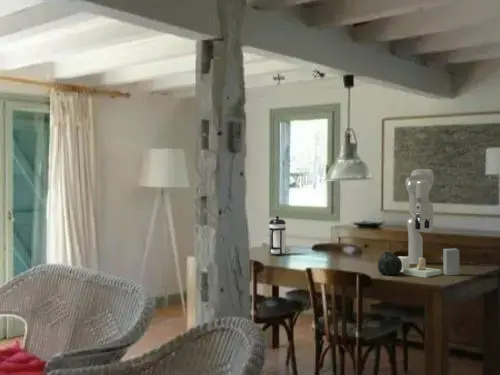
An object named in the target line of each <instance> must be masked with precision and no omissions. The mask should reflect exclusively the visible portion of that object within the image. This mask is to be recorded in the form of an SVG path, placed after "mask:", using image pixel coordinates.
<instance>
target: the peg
mask: <svg viewBox="0 0 500 375" xmlns="http://www.w3.org/2000/svg"><path fill="white" fill-rule="evenodd" d="M426 259H427V258H426V257H423V258H419V264H418V265H419V270H423V271H424V270H425V268H427V267H426V265H427V264H426Z"/></svg>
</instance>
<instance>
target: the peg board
mask: <svg viewBox="0 0 500 375" xmlns="http://www.w3.org/2000/svg"><path fill="white" fill-rule="evenodd" d="M404 274H405V275H406V276H411V275H412V276H413V277H419V278H429V277H435V276H439V275H441V274H442V269H439V268H430V267H426V268H425V270H424V271H423V270H419V267H417V266H415V267H411V268H410V269H404V272H403V275H404Z"/></svg>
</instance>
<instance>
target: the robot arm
mask: <svg viewBox="0 0 500 375" xmlns="http://www.w3.org/2000/svg"><path fill="white" fill-rule="evenodd" d="M434 180H435V176H434V172H433V170H432V169H430V168H426V169H425V168H417V169H413V170H412V171H411V173H410V177H407V178H406V179H405V188H406V191H407V192H408V207H409V208H408V211H409V214H410V215H411V216H413V217H410V218H408V219H407V220H406V226H407V235H408V237H407V239H408V245H407V246H408V248H407V250H408V251H407V252H408V255H407V256H406V255H405V256H404V257H410V265H419V258H424V257H423V255H424V253H423V250H424V249H423V247H424V246H423V240H424V239H423V236H422V234H420V232H422V233H423V232H426V233H427V232H429V233H430V232H432V231H433V230H434V205H433V203H432V202H431V201H430V197H429V194H430V190H431V189H432V187H433V184H434Z"/></svg>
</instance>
